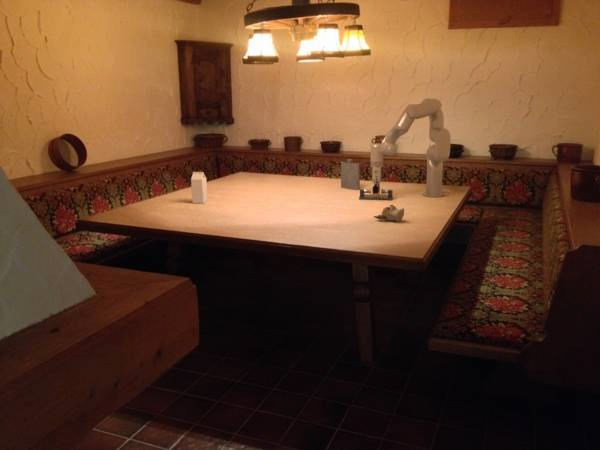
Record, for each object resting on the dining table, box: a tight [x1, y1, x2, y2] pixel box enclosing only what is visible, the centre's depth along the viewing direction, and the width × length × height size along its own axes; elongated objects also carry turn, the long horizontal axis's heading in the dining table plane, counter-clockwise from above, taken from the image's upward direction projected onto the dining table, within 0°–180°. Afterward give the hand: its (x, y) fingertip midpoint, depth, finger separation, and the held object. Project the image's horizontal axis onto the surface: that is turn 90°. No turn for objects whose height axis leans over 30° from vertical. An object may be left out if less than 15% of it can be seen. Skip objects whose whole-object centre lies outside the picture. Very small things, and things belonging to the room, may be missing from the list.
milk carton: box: [190, 171, 209, 205], centre depth 325 cm, size 7×7×19 cm
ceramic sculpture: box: [373, 204, 405, 223], centre depth 275 cm, size 11×9×15 cm
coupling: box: [371, 185, 381, 197], centre depth 326 cm, size 4×4×7 cm
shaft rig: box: [358, 188, 394, 201], centre depth 327 cm, size 20×9×6 cm, turn 78°
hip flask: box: [340, 158, 361, 191], centre depth 358 cm, size 16×4×20 cm, turn 43°
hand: (376, 191), depth 327 cm, fingers open, 9 cm apart
